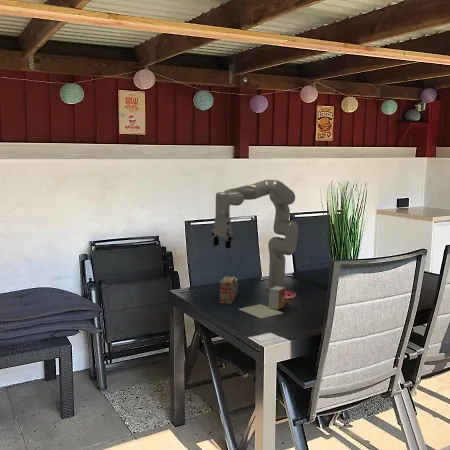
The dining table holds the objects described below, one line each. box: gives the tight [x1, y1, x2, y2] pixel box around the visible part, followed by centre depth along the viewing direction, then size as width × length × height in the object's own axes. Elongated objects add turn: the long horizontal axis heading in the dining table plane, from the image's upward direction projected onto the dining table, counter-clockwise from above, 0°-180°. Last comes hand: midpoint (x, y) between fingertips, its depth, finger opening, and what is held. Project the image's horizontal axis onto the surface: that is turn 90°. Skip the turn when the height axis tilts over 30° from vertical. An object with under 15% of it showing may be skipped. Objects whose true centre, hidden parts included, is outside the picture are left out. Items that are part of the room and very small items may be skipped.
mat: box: [238, 303, 284, 320], centre depth 259 cm, size 15×18×1 cm
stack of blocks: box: [219, 276, 239, 305], centre depth 281 cm, size 21×6×12 cm, turn 168°
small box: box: [268, 286, 286, 311], centre depth 265 cm, size 8×6×10 cm
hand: (222, 246), depth 272 cm, fingers open, 9 cm apart
